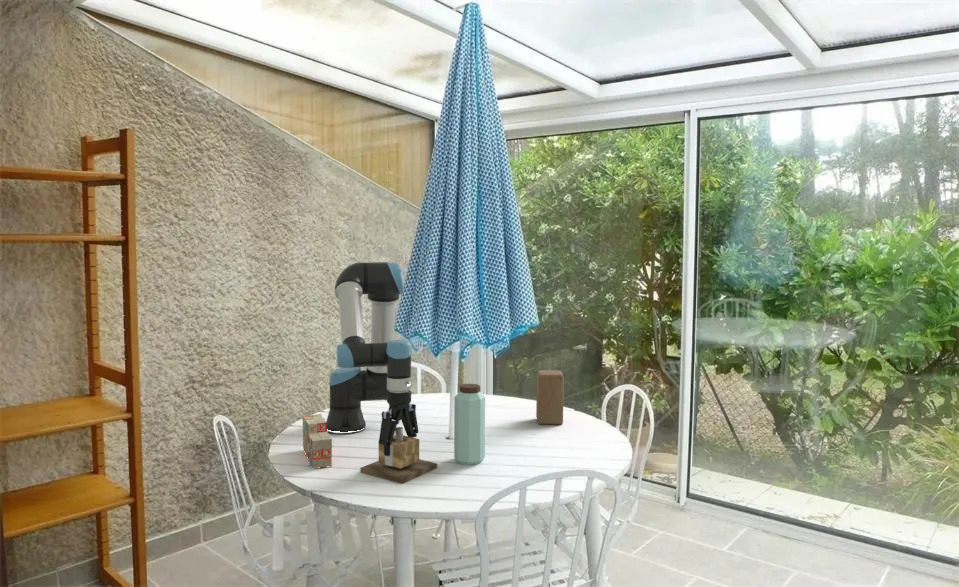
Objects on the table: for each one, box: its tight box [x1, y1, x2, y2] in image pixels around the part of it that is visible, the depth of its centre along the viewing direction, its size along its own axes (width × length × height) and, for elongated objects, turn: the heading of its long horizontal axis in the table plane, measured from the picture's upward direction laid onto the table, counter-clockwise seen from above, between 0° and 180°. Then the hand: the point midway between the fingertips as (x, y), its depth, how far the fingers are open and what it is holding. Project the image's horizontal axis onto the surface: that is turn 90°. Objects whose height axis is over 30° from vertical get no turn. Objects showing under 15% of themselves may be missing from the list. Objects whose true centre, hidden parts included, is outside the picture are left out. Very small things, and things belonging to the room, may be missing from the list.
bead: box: [378, 434, 420, 469], centre depth 214 cm, size 9×9×7 cm
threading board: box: [359, 426, 438, 485], centre depth 214 cm, size 17×17×14 cm
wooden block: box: [535, 369, 565, 426], centre depth 272 cm, size 10×10×20 cm
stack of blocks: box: [301, 413, 333, 469], centre depth 225 cm, size 21×6×12 cm, turn 22°
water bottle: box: [453, 383, 486, 466], centre depth 223 cm, size 10×10×25 cm
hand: (399, 461), depth 214 cm, fingers closed on bead, 9 cm apart
